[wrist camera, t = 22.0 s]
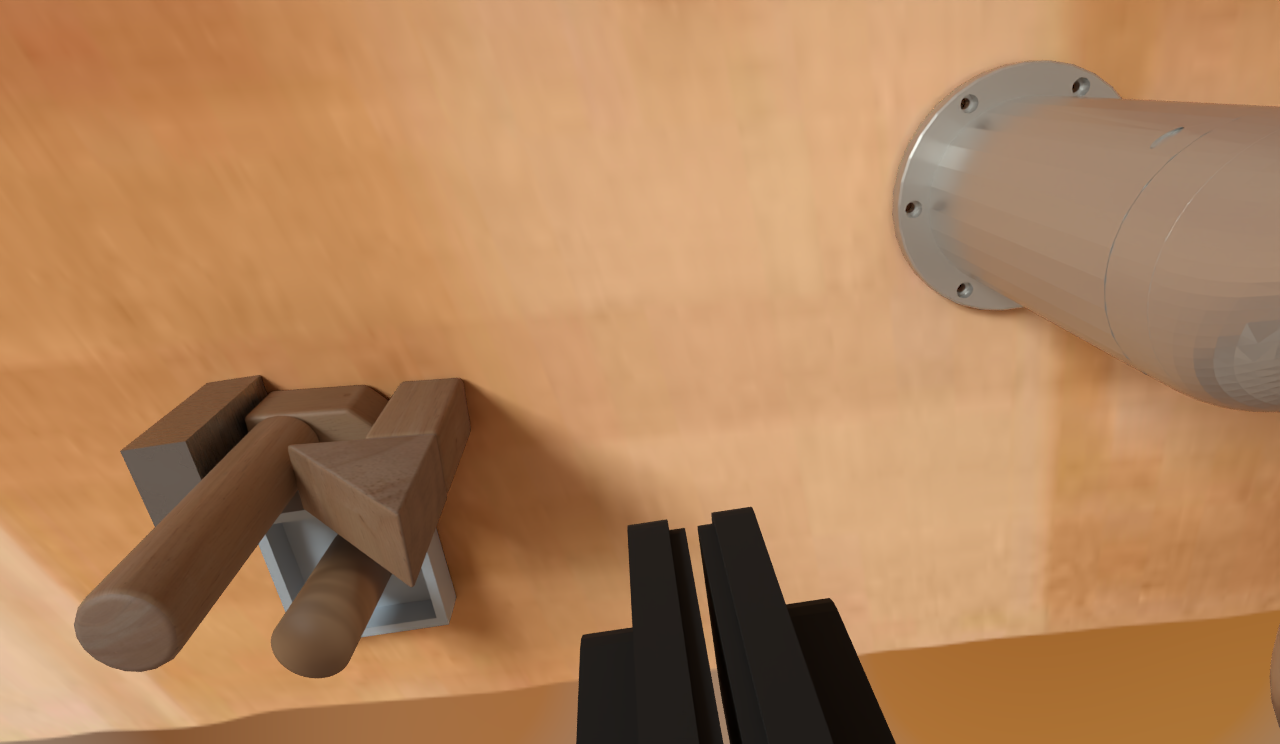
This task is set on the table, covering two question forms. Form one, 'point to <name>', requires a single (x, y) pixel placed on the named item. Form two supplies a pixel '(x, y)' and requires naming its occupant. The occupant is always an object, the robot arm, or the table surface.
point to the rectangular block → (190, 442)
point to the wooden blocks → (260, 490)
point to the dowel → (330, 612)
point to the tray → (400, 607)
